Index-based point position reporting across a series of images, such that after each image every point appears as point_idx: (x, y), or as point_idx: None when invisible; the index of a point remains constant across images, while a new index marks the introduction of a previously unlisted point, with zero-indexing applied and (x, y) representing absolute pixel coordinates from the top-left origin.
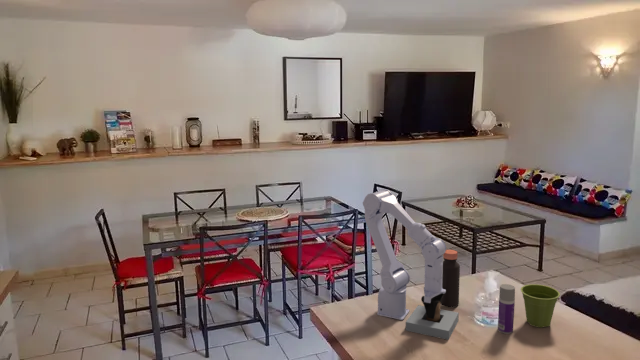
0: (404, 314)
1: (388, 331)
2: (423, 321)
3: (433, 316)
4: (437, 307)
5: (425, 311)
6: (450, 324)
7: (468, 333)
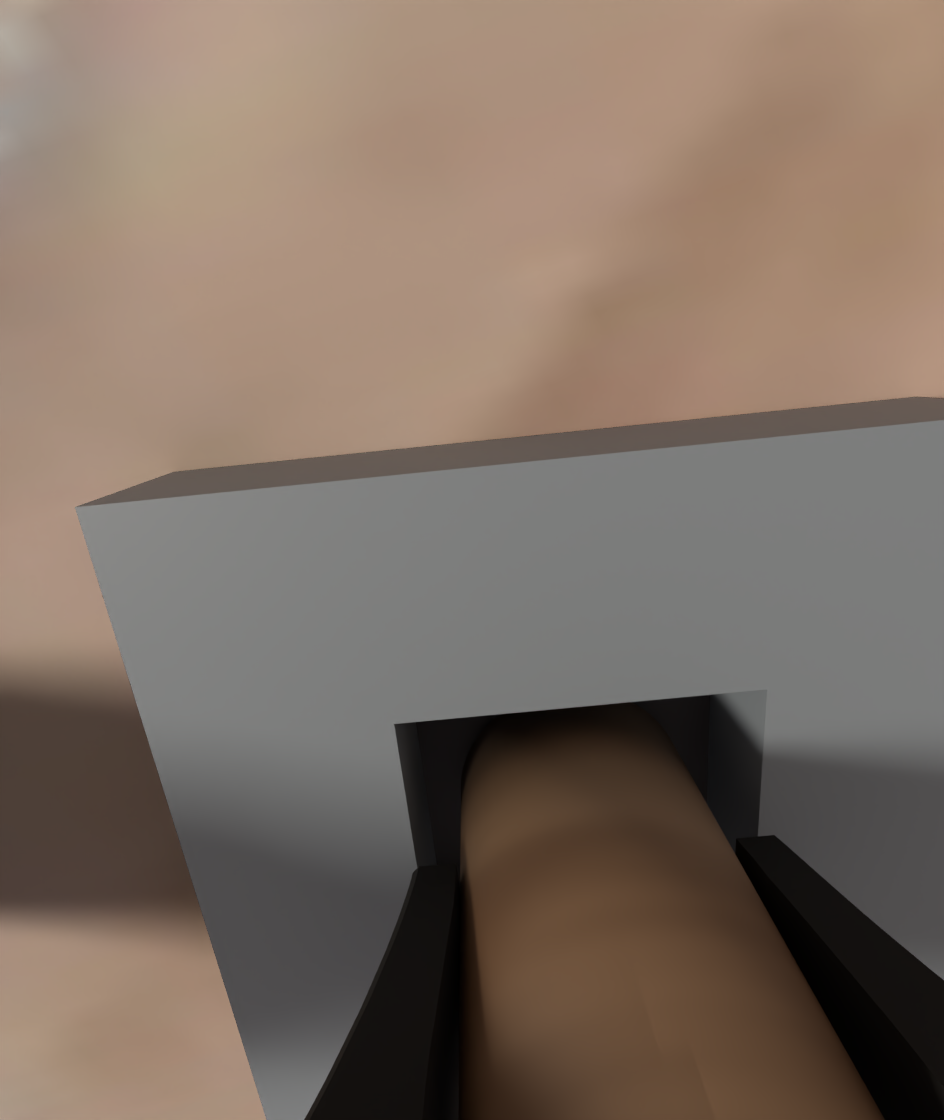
0: None
1: None
2: None
3: (819, 878)
4: (817, 1052)
5: None
6: (744, 478)
7: (531, 141)
